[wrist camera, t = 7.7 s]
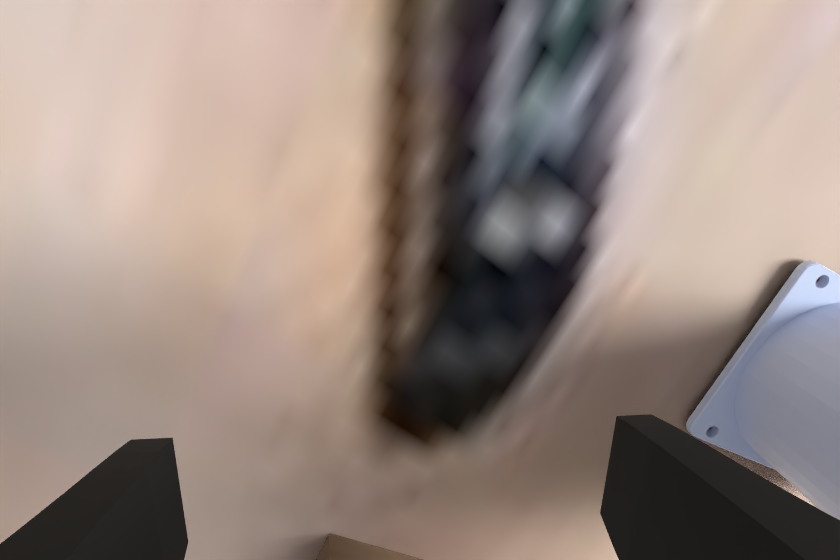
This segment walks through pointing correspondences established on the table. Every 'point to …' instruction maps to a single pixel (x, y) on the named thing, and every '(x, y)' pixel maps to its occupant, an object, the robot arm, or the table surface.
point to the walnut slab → (356, 551)
